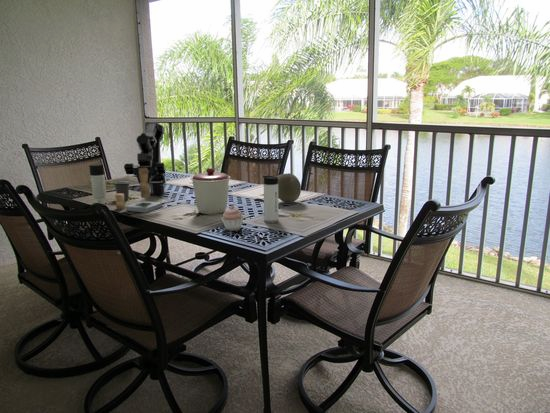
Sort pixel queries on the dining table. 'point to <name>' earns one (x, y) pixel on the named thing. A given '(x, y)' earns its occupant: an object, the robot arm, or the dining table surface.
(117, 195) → the short pin
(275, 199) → the travel mug
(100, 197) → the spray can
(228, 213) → the cupcake
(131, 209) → the hole plate
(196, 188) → the canister
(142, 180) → the tall pin
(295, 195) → the cantaloupe
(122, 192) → the coffee cup
